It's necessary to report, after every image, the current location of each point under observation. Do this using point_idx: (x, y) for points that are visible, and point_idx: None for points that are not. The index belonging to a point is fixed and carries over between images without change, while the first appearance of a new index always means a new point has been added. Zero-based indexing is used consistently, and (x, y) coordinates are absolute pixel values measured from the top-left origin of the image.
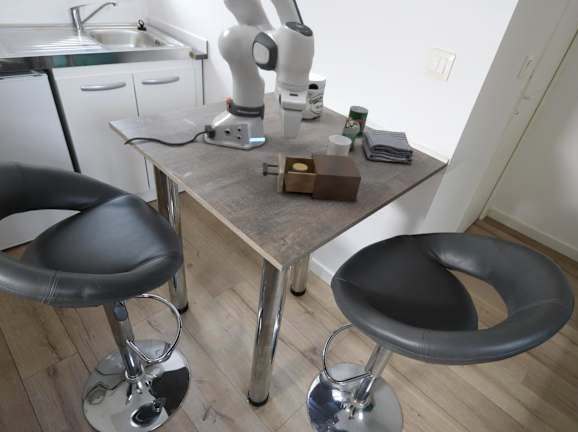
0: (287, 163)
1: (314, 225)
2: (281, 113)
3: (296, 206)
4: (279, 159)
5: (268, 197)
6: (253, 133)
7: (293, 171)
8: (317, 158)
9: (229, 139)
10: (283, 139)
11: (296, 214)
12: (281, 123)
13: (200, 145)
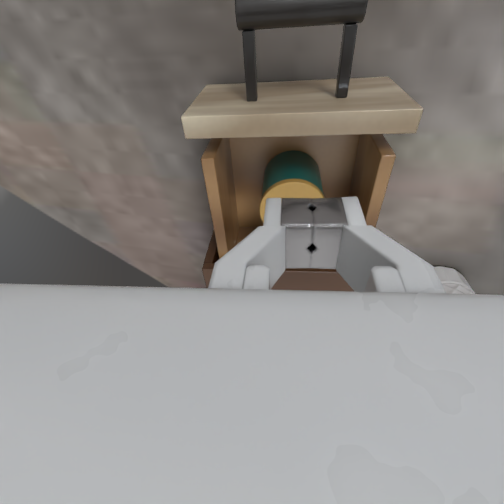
0: (370, 150)
1: (84, 197)
2: (494, 438)
3: (155, 154)
4: (340, 115)
5: (176, 36)
6: None
7: (279, 175)
8: (334, 284)
9: None
10: (265, 211)
11: (111, 151)
12: (234, 316)
13: None
